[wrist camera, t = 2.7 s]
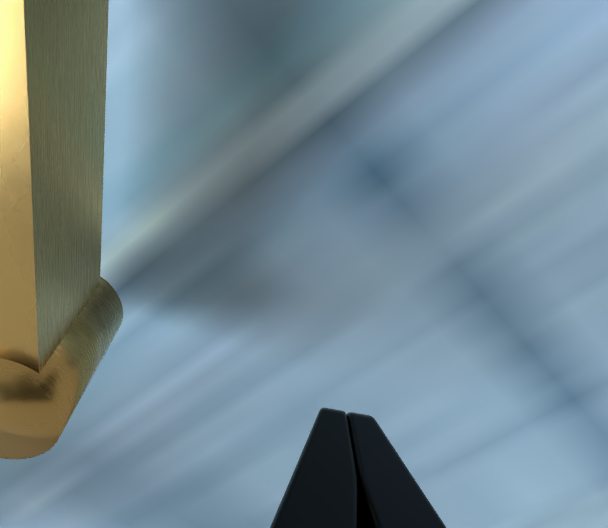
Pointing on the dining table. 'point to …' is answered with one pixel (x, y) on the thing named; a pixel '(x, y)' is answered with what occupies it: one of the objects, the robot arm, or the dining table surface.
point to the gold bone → (51, 216)
